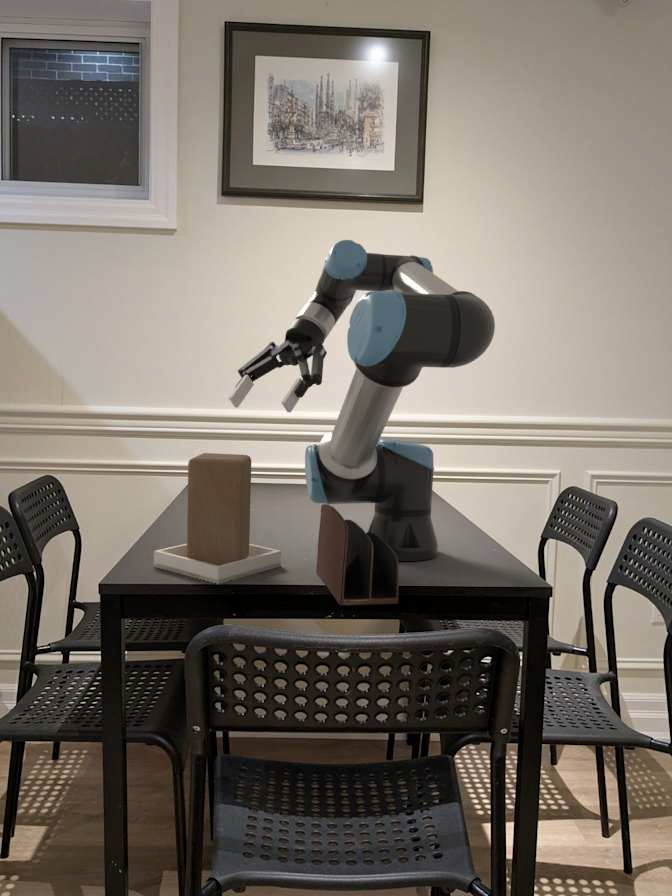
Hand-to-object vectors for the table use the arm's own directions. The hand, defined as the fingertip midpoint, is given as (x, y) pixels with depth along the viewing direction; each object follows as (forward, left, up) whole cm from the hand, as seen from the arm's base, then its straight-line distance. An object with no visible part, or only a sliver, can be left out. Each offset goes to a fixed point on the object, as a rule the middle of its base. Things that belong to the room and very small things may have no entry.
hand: (258, 405), depth 153 cm
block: (0, +10, -29) cm, 31 cm away
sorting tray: (0, +10, -30) cm, 32 cm away
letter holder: (-26, +3, -30) cm, 40 cm away
